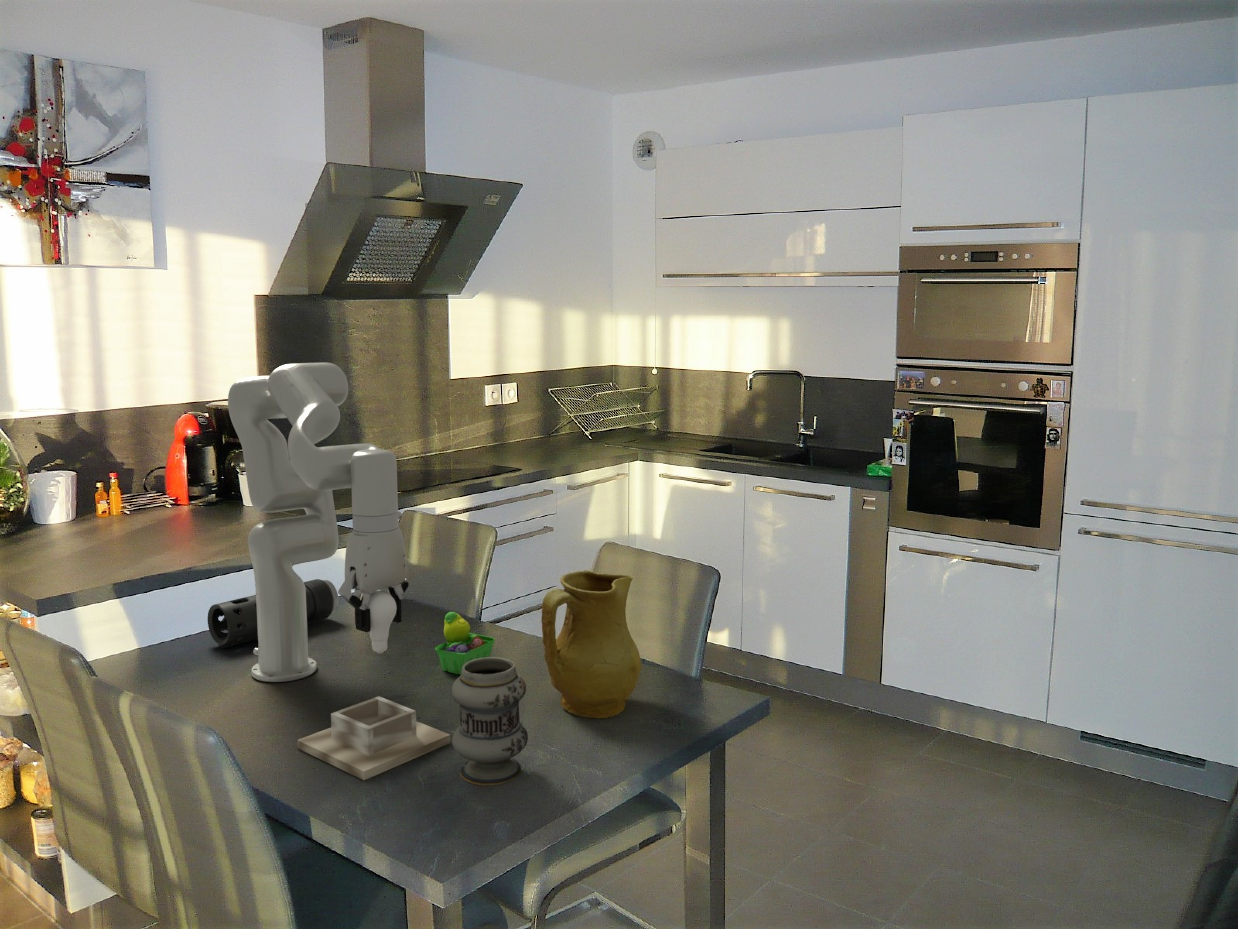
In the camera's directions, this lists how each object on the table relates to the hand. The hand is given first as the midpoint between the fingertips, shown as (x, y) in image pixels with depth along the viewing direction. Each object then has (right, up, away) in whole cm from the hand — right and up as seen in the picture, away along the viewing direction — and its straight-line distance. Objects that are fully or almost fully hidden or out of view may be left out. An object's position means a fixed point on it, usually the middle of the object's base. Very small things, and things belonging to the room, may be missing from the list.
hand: (378, 624), depth 174 cm
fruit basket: (+9, -15, +37) cm, 41 cm away
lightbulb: (0, -5, +1) cm, 5 cm away
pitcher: (+36, -18, +17) cm, 44 cm away
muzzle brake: (-36, -11, +56) cm, 68 cm away
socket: (0, -20, -1) cm, 20 cm away
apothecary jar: (+20, -22, -10) cm, 32 cm away
